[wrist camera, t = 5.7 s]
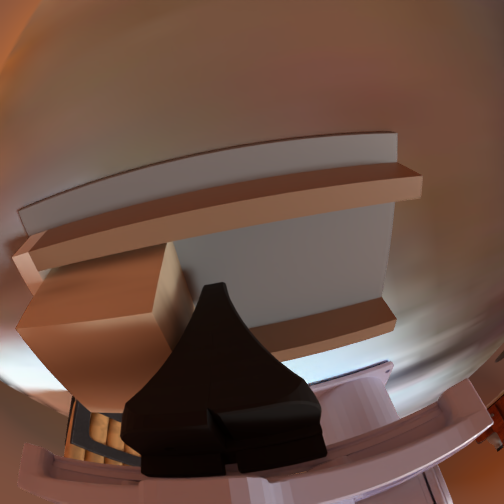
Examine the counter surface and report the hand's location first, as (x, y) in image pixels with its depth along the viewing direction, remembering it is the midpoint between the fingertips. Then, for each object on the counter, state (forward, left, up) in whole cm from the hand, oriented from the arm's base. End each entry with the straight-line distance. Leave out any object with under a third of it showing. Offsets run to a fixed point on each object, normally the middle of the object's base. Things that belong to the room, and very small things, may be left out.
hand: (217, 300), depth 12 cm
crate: (0, +4, -1) cm, 5 cm away
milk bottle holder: (-93, -88, -2) cm, 128 cm away
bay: (0, 0, -2) cm, 2 cm away
